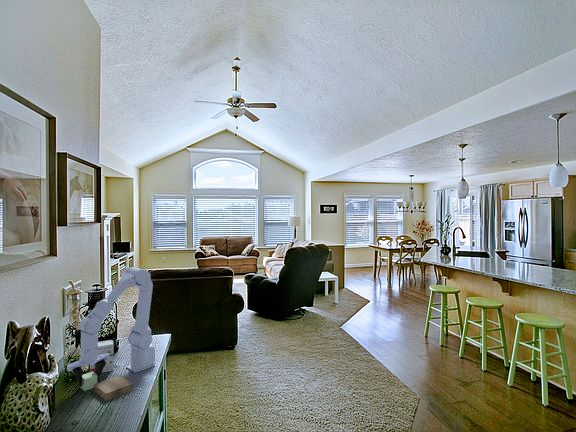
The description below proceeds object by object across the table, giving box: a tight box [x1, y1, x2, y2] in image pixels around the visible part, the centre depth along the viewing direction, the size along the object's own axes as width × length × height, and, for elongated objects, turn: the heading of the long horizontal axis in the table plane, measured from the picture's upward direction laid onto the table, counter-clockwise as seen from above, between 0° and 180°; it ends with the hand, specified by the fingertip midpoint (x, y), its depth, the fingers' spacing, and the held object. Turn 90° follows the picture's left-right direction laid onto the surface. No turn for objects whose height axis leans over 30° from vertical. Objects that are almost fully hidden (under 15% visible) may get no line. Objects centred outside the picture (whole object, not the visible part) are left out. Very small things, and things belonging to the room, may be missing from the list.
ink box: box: [89, 339, 115, 374], centre depth 144 cm, size 8×5×12 cm, turn 123°
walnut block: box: [93, 374, 134, 402], centre depth 128 cm, size 10×10×3 cm
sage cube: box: [79, 371, 98, 392], centre depth 130 cm, size 4×4×4 cm
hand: (88, 383), depth 130 cm, fingers open, 6 cm apart
